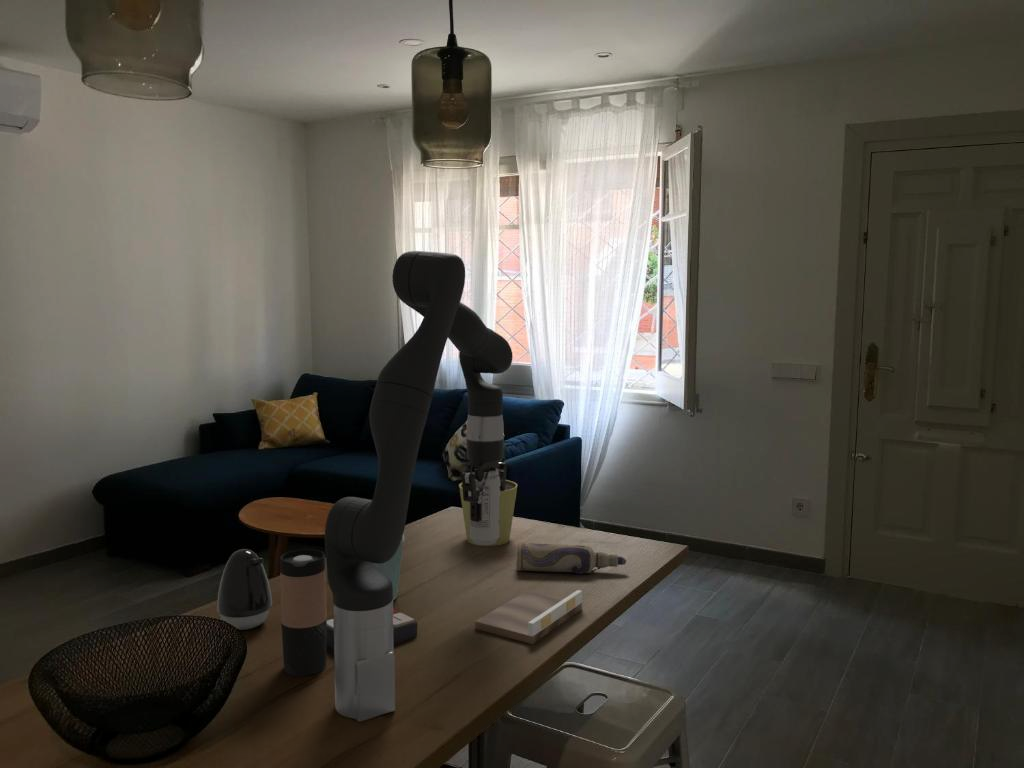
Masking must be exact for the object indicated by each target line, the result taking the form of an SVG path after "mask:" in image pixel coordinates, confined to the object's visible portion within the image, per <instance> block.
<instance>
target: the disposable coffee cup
mask: <svg viewBox="0 0 1024 768" xmlns="http://www.w3.org/2000/svg"><path fill="white" fill-rule="evenodd" d="M404 533H405V532H404ZM404 533H403V536H402V540H401V543H400V545H399V548H398V549H397V551H396V553H395V555H394V556H393V557H392V558H391V559H390V560H389V561H387V562H385V563H382V564H378V563H374V564H375V566H376V567H377V568H378V569H379V570H380V571H381V572H382V573H383V574H385V575H386V576H387V577H388V578H389V579H390V580H391V582H392V586H393V601H395V600H396V599H397V596H398V592H399V586H400V585H399V583H400V576H401V575H400V574H401V565H402V558H403V557H402V556H403V549H404V547H403V546H404V545H403V544H404V542H405V534H404Z"/></svg>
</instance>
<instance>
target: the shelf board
mask: <svg viewBox="0 0 1024 768" xmlns="http://www.w3.org/2000/svg"><path fill="white" fill-rule="evenodd" d="M565 598H566V597H565ZM565 598H564V597H560V596H557V595H556V596H555V595H552V594H551V595H550V594H546V593H542V592H538V591H533V590H530V589H528V590H526V591H524V592H523V593H520V594H519V595H517V596H516V597H514V598H513V599H511V600H509V601H507V602H505V603H504V604H502V605H501V606H499V607H497V608H495V609H493V610H492V611H490V612H488V613H487V614H485V615H484V616H482V617H480V618H479V619H476V620H475V621H474V626H475V628H474V629H475V630H477V631H482V632H485V633H490V634H493V635H497V636H500V637H504V638H509V639H512V640H516V641H519V642H522V641H523V642H522V643H526V642H527V644H529V645H530V644H531V645H534V644H535V643H536V641H537V642H538V641H539V640H541V639H542V638H544V637H545V636H546V635H548V634H549V633H551V632H552V631H554V630H555V629H556V628H558V627H559V626H561V625H562V624H564V623H565V622H566V621H568V620H569V619H571V618H572V617H573V616H575V615H576V614H577V612H578V611H579V612H580V611H582V610H583V602H582V603H581V604H579V605H578V606H576V607H575V608H573V609H572V610H570V611H569V612H568V613H566V614H565V615H563V616H562V617H560V618H559V619H557V620H556V621H555V622H553V623H552V624H550V625H549V626H547V627H546V628H544V629H543V630H541V631H540V632H539V633H537V634H536V635H534V636H533V637H532V636H529V635H528V622H530V621H531V620H533V619H534V618H536V617H537V616H539V615H540V614H542V613H543V612H545V611H546V610H548V609H550V608H551V607H553V606H554V605H556V604H557V603H559V602H560V601H562V600H563V599H565ZM581 609H582V610H581ZM579 612H578V613H579ZM574 614H575V615H574ZM571 616H572V617H571ZM570 617H571V618H570ZM567 619H568V620H567ZM564 621H565V622H564ZM561 623H562V624H561ZM560 624H561V625H560ZM557 626H558V627H557ZM553 629H554V630H553ZM550 631H551V632H550Z"/></svg>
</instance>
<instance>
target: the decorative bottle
mask: <svg viewBox="0 0 1024 768" xmlns="http://www.w3.org/2000/svg"><path fill="white" fill-rule="evenodd" d="M515 563H516V564H515V566H516V571H519V572H520V571H521V572H522V571H526V572H529V571H530V572H544V573H545V572H549V573H570V572H571V573H573V574H581V575H584V574H583V573H590V574H591V573H593V572H596V570H600V569H604V568H605V569H606V568H608V567H611V568H612V567H613V568H616V567H618V566H619V565H621V566H622V565H623V566H624V565H626V564H627V559H626V558H624V557H623V556H618V554H612V553H611V554H608V553H606V552H602V551H598V552H595V551H594V549H593V547H591V546H590V545H580V544H579V545H571V544H561V543H560V544H558V543H557V544H554V543H553V544H549V543H533V542H532V543H531V542H528V543H526V542H518V543H517V546H516V562H515Z"/></svg>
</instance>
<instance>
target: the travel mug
mask: <svg viewBox="0 0 1024 768" xmlns="http://www.w3.org/2000/svg"><path fill="white" fill-rule="evenodd" d="M279 560H280V561H279V562H280V564H279V565H280V566H279V567H280V618H281V619H280V622H281V623H280V625H281V639H282V641H281V642H282V654H283V655H282V657H283V669H284V672H285V673H286V674H288V675H291V676H292V677H293V676H294V677H305V676H306V677H308V676H312V675H316V674H318V673H320V672H322V671H323V670H324V669H326V665H327V645H326V636H327V620H328V619H327V616H328V615H327V586H326V585H327V583H326V582H327V581H326V554H325V553H324V552H323V551H320V550H319V549H312V548H311V549H309V548H304V549H296V550H290V551H288V552H285V553H283V554H282V555H281V556H280V558H279Z"/></svg>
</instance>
